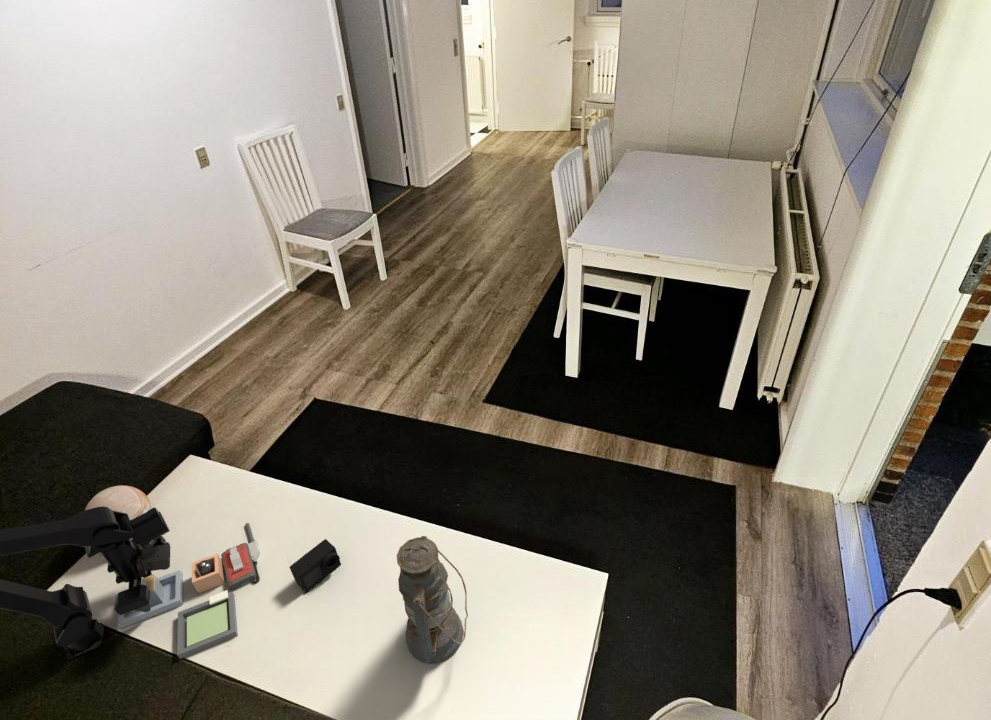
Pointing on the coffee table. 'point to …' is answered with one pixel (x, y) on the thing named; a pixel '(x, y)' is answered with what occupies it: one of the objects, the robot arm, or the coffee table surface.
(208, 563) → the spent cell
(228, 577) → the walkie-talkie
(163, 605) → the tray
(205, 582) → the cup
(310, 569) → the digital camera
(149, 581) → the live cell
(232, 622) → the checker frame
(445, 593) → the lantern
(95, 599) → the coffee table surface
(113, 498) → the ornament
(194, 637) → the light green square plate
